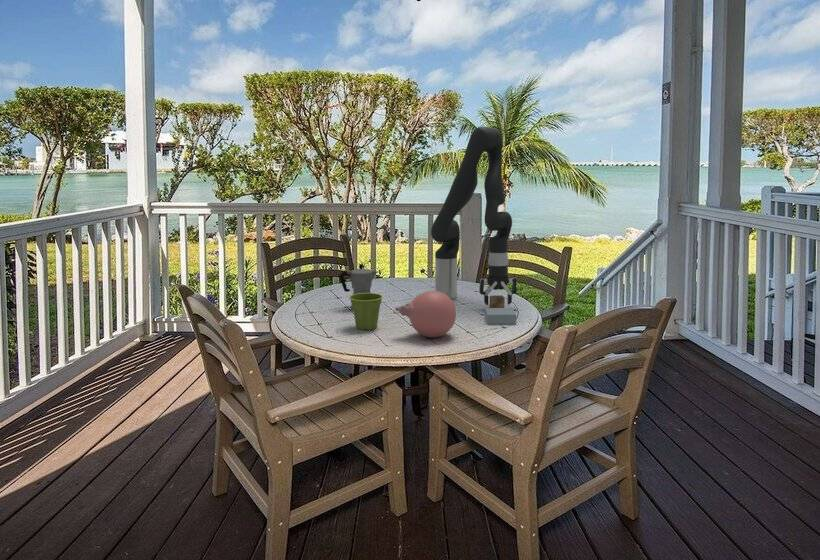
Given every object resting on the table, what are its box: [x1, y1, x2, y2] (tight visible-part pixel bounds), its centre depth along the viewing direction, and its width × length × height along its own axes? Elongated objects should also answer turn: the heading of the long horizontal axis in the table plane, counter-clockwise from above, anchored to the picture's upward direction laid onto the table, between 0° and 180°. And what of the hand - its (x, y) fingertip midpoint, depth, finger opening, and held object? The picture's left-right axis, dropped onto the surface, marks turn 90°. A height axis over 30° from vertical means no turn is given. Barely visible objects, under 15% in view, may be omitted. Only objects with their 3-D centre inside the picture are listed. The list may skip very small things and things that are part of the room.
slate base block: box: [484, 307, 517, 326], centre depth 214 cm, size 10×10×4 cm
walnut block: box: [489, 294, 506, 308], centre depth 231 cm, size 5×5×5 cm
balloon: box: [394, 290, 457, 338], centre depth 194 cm, size 15×20×15 cm
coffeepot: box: [338, 263, 379, 311], centre depth 232 cm, size 15×9×18 cm, turn 107°
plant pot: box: [348, 292, 384, 331], centre depth 206 cm, size 12×12×11 cm
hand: (497, 304), depth 231 cm, fingers open, 8 cm apart
